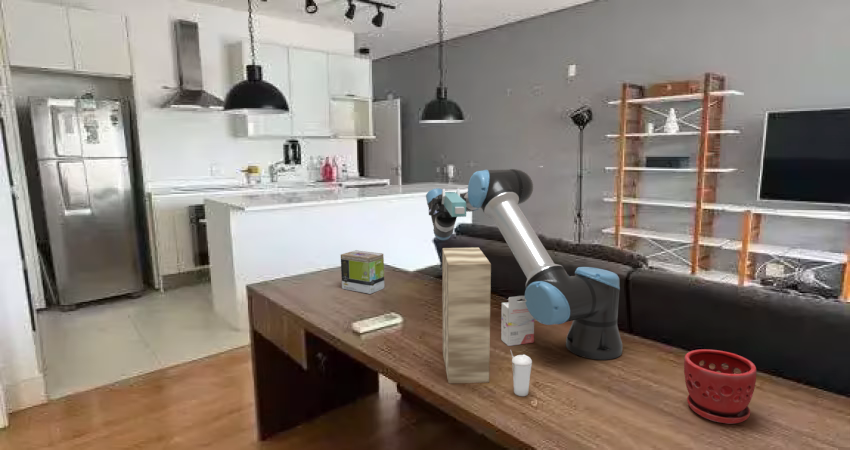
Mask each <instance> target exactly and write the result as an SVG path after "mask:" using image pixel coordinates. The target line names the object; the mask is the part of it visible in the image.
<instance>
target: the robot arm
mask: <svg viewBox="0 0 850 450" xmlns="http://www.w3.org/2000/svg"><path fill="white" fill-rule="evenodd" d="M533 191H534V183H533V180H532V178H531V177H530V175H529V174H528V173H527V172H525V171H523V170H521V169H515V168H511V169H510V168H509V169H484V170H477V171H475V172H473V174H472V175H471V176H470V179H469V181H468V185H467V192H463V193H461V189H460V188H456V192H455V193H457V194H458V195H459V196H460V197H461V198H462V199H463V200H464V201H465V202H466V213H467V212H470V213H471V212H476V211H478V210H480V209H481V210H482V212H483V213H484V216H486V218H488V219H493V221H494V223H495V225H496V226H497V229H498V230H499V232H500V233H501V235H502V237H503V239H504V240H505V242H506V244H507V246H508V247H509V250H511V253H512V254H513V256H514V258H515V260H516V262H517V264H518V265H519V266H520V269H521V271H522V272H523V274H524V275H525V277H526V282H525V291H524V296H525V299H526V300H527V301H526V302H525V303H526V306H527V309H528V311H529V312H530V314H531V315H532V316H533V318H534V320H535V321H537V322H538V323H540V324H542V325H546V326H549V325H550V326H552V325H561V324H564V323H567V322H572V323H571V325H570V328H569V330H568V332H567V335H566V339H565V347H566V349H567V350H568V351H570V353H573V354H574V355H577V356H580V357H583V358H587V359H592V360H600V361H602V360H603V361H604V360H605V361H606V360H613V359H617V358H619V357H620V356H621V355H622V353H623V342H622V338H621V334H620V331H619V327H618V317H619V316H618V315H619V300H620V290H621V287H620V277H619V276H618V274H617V273H616V272H613V271H610V270H607V269H602V268H598V267H591V266H579V267H577V268H576V269H575V271H574V275H571V276H570V275H569V274H568V273H567V271H566V269H565V267H564V266H563V265H561V264H557V263H555V262H554V261H553V259H552V258H551V255H550V254H549V253H548V251H547V249H546V248H545V246H544V245H543V243H542V241H541V240H540V238H539V236H538V235H537V233H536V231H535V230H534V228H533V227H532V225H531V224H530V221H529V220H528V219H527V217H526V216H525V214H524V212H523V210H521V208H520V206H519V205H521V204H524V203H525V202H526V201H528V200H529V199H530V198H531V196H533V195H532V194H533ZM445 192H446V188H438V187H436V188H432V189H431V190H429V191H428V192H427V193H426V194H425V198H426V204H427V207H428V216H431V222H432V223H431V224H432V227H433V234H434V237H436V238H437V239H438V240H441V241H446V240H449V239H450V238H451V237H452V235H453V234H454V229H455V225H456V222H457V218H458V217H452V216H451V215H450V213H449V212H448V210H447V209H446V207H445V206H444V201H445Z"/></svg>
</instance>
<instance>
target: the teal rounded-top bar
mask: <svg viewBox="0 0 850 450" xmlns="http://www.w3.org/2000/svg"><path fill="white" fill-rule="evenodd" d="M444 206H445V207H446V209H447V210H448V212H449V213H450V215H451V216H452V217H457V218H461V217H463V218H465V217H467V212H466V202H465V201H464V200H463V199H462V198H461V197H460V196H459V195H458V194H457V193H456V192H455V191H445V201H444Z"/></svg>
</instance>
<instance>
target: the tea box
mask: <svg viewBox="0 0 850 450" xmlns="http://www.w3.org/2000/svg"><path fill="white" fill-rule="evenodd" d="M384 263H385V261H384V253H380V252H372V251H363V250H357V249H356V250H351V251H349V252H345V253H341V254H340V272H341V273H340V274H341V277H340V278H341V289H343V290H347V291H353V292H357V293H362V294H363V293H364V294H369V295H371V294H374V293H377V292H378V291H381V290H383V289H385V264H384Z"/></svg>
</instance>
